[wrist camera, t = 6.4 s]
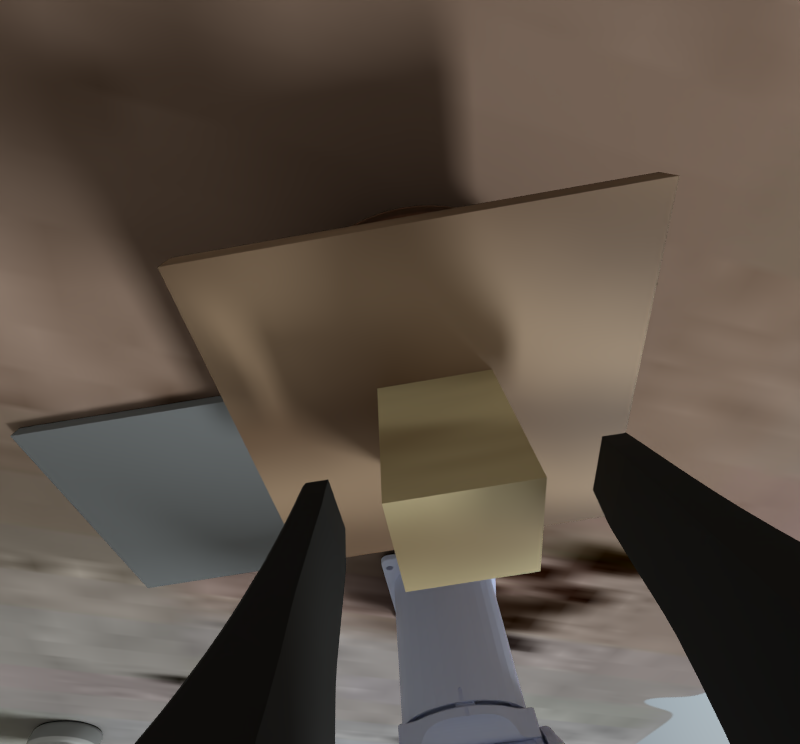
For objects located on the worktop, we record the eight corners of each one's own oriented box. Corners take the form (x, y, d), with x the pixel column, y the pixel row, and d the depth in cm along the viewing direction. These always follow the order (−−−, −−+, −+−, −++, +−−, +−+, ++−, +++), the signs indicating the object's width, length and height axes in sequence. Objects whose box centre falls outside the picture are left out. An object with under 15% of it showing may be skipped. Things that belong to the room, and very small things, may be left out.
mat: (349, 549, 27) (348, 557, 27) (151, 579, 28) (147, 587, 27) (289, 384, 20) (287, 391, 19) (19, 428, 20) (10, 436, 20)
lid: (598, 500, 17) (678, 629, 13) (306, 546, 17) (286, 689, 13) (658, 172, 10) (877, 208, 6) (170, 257, 11) (29, 354, 6)
